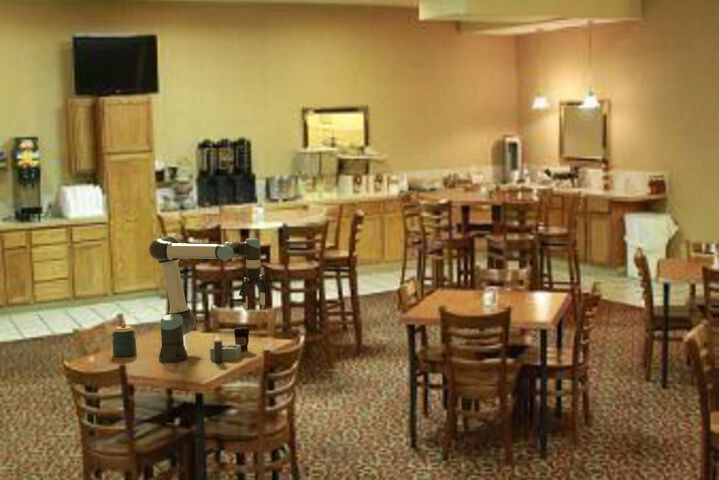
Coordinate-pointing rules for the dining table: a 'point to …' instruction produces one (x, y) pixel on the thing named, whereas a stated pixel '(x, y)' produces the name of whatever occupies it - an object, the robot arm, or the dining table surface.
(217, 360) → the plug
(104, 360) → the dining table surface
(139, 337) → the dining table surface
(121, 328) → the canister
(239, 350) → the socket box
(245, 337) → the coffee cup
